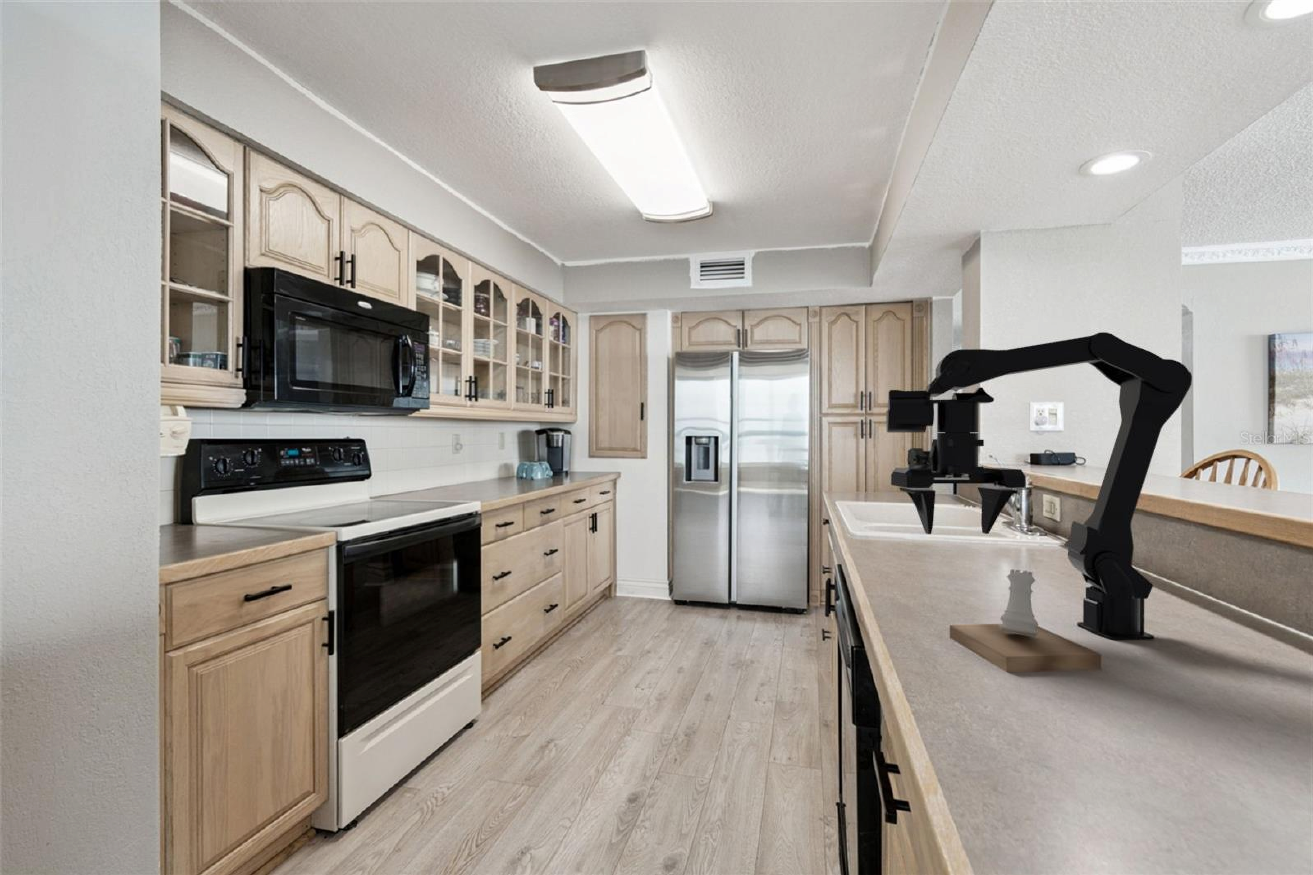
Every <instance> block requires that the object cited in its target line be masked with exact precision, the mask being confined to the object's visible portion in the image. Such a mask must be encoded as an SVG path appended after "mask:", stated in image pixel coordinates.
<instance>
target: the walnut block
mask: <svg viewBox="0 0 1313 875" xmlns="http://www.w3.org/2000/svg"><path fill="white" fill-rule="evenodd" d="M1001 624H1002V623H988V624H987V623H981V624H979V623H978V624H949V638H950V639H951V640H953V641H954V642H956V643H957V644H959V645H961V646H962V647H964V648H965V649H967V650H969V651H970V652H972V653H974V654H976V655H978V656H979V657H981V658H982V659H984V660H986V661H988V662H989V663H990V664H992V665H994V666H996V667H997V668H999V669H1000V670H1003V671H1004V672H1006V673H1019V672H1020V673H1021V672H1024V673H1025V672H1057V671H1058V672H1059V671H1061V672H1062V671H1092V670H1093V671H1096V670H1097V671H1098V670H1099V671H1101V670H1102V654H1101V653H1100V652H1097V651H1095V650H1093V649H1090V648H1088V647H1086V646H1083V645H1082V644H1079V643H1077V642H1075V641H1072V640H1070V639H1068V638H1066V637H1064V636H1061V635H1059V634H1058V633H1054V632H1052V631H1049V630H1048V629H1045V628H1043V627H1041V626H1039V625H1038V626H1037V627H1036V628H1035V629H1036V630H1037V631H1038V632H1039V633H1038V634H1037V635H1036V636H1032V635H1027V634H1021V633H1016V632H1010V631H1005V630H1002V629H1001V628H1000V626H999V625H1001Z"/></svg>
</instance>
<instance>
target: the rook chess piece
mask: <svg viewBox="0 0 1313 875" xmlns="http://www.w3.org/2000/svg"><path fill="white" fill-rule="evenodd" d="M1006 578H1007V579H1008V580H1009V582H1010V586H1008V590H1009V598H1008V602H1007V606H1006V608H1005V610H1004V613H1003V614H1002V615H1001V616H1000V618H999V619H1000V621H1001V622H1002V623H1000V624H1001V625H999V626H1000V628H1001V629H1002V630H1005V631H1010V632H1016V633H1021V634H1027V635H1032V636H1036V635H1037V634H1038V633H1039V632H1038V631H1037V630H1036V629H1035V628H1036V627H1037V626H1039V622H1038V621H1037V620H1036V619H1035V615H1034V612H1033V608H1032V600H1031V599H1032V593H1033V590H1032V586H1033V584H1034V583H1035V582H1036V579H1035V578H1034V577H1033V572H1032V571H1028V570H1023V572H1021V570H1020V569H1013V568H1012V569H1010V573H1009V574H1008V575H1006Z"/></svg>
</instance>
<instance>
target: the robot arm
mask: <svg viewBox="0 0 1313 875" xmlns="http://www.w3.org/2000/svg"><path fill="white" fill-rule="evenodd" d="M1086 363H1087V364H1089V365H1091V366H1092V367H1094V368H1095V369H1096V370H1097V371H1098V372H1100V374H1102V375H1103V376H1104V377H1106V379H1107V380H1109V381H1111V382H1112V383H1114V384H1116V385H1117V386H1119V396H1118V397H1119V399H1118V404H1119V411H1120V418H1121V422H1120V424H1119V425H1120V427H1119V429H1118V433H1117V434H1116V435H1117V436H1116V438H1115V440H1114V445H1113V448H1112V450H1111V451H1112V452H1111V454H1110V458H1109V459H1108V460H1109V461H1108V463H1107V467H1106V469H1105V473H1104V476H1103V479H1102V484H1101V486H1100V489H1099V492H1098V496H1097V499H1096V501H1095V505H1094V508H1093V511H1092V512H1091V515H1090V516H1089V517H1088V518H1087V519H1086V521H1084V523H1081V522H1079V521H1076V520H1074V521H1072V523H1071V527H1070V535H1069V538H1068V540H1067V541H1066V542H1065V543H1064V544H1063V545H1064V547H1065V548H1068V549H1067V559H1068V561H1069V562H1070V564H1071V565H1072V567H1074V568H1075V569H1076V570H1077V571H1079V572H1080V573H1081V576H1082V578H1083V580H1084V582H1085V583H1087V584H1090V586H1088V587H1087V586H1086V587H1085V597H1084V598H1083V600H1082V601H1083V604H1082V609H1083V610H1082V611H1083V612H1082V613H1083V615H1082V618H1083V619H1082V621H1077V622H1076V626H1077V627H1080V628H1082V629H1084V630H1086V631H1089V632H1091V633H1094V634H1096V635H1098V636H1101V637H1104V638H1105V639H1108V640H1111V641H1124V640H1125V641H1126V640H1127V641H1133V640H1154V639H1155V634H1151V633H1148V632H1145V600H1147V599H1148V598H1149V597H1150V594H1151V592H1152V590H1153V588H1154V585H1153V583H1152V582H1150V581H1149V580H1148V579H1147V578H1146V577H1144V575H1143V574H1142V573H1140V572H1139V571H1138V570H1137V569H1136V568H1134V567H1133V560H1134V559H1133V558H1134V550H1135V549H1134V548H1135V545H1134V538H1133V532H1132V520H1133V519H1134V514H1135V511H1136V508H1137V505H1138V502H1139V500H1140V496H1141V493H1142V490H1143V487H1144V483H1145V480H1146V477H1147V474H1148V471H1149V468H1150V466H1151V462H1152V458H1153V456H1154V454H1155V453H1154V452H1155V450H1156V447H1157V443H1158V441H1159V437H1160V434H1161V432H1162V428H1163V427H1164V425H1165V424H1166V423H1167V422H1168V420H1169V419H1170V418H1171V417H1172V416H1173V414H1175V412H1176V411H1178V409H1179V408H1180V406H1181V404H1182V403H1183V400H1184V399H1185V397H1186V396H1187V394H1188V392H1189V390H1190V388H1191V386H1192V384H1193V383H1192V381H1193V375H1192V372H1190V371H1189V369H1188V368H1187V367H1186V365H1184V364H1183V363H1182V362H1180V361H1177V360H1175V359H1171V358H1170V359H1169V358H1167V359H1166V358H1162V357H1160V356H1159V355H1157V354H1156V353H1154V352H1152V351H1150V350H1147V349H1144V348H1142V347H1139V346H1136V345H1135V344H1132V343H1129V342H1126V341H1125V340H1122V339H1121V338H1119V337H1118V336H1116V335H1115V334H1112V333H1110V332H1106V331H1103V332H1097V333H1095V334H1092V335H1087V336H1082V337H1075V338H1071V339H1063V340H1059V341H1057V340H1056V341H1052V342H1045V343H1039V344H1033V345H1027V346H1021V347H1014V348H1011V349H987V348H986V349H984V348H981V349H979V348H977V349H976V348H975V349H974V348H973V349H972V348H971V349H969V348H968V349H967V348H966V349H962V348H961V349H956V350H952V351H951V352H949V353H948V354H946V355H945V356H944V357H942V358H941V360H940V361H939V362H938V364H937V365H936V368H935V377H934V379H933V380H932V381H931V383H929V384H927V385H926V386H925V390H900V389H890V390H889V391H888V392H887V393H888V399H887V409H886V411H885V412H886V413H885V414H886V415H885V417H886V418H885V420H886V421H885V422H886V423H885V425H886V433H887V434H888V433H891V434H892V433H900V434H901V433H902V434H903V433H906V434H907V433H908V434H909V433H912V434H913V433H914V434H915V433H916V434H917V433H918V434H919V433H920V434H923V433H924V434H925V433H926V430H927V427H933V426H934V424H935V423H934V422H935V406H934V405H936V406H937V407H936V409H937V410H936V411H937V413H936V414H937V416H936V418H937V420H936V425H937V426H936V432H937V433H936V438H935V439H934V438H932V442H931V449H930V450H924V449H923V448H922V447H921V448H920V447H919V448H918V447H917V448H916V447H911V448H909V449H908V450H907V458H906V459H907V461H906V462H907V467H895V468H894V469H893V470H892V473H891V474H890V482H891V484H890V485H891V486H893V487H894V486H895V487H898V488H899V491H901V492H905V493H907V494H906V495H908V497H910V499H911V500H912V503H913V505H914V506H915V509H916V511H917V514H918V516H919V520H920V522H921V525H922V528H923V530H924V533H925V534H927V535H931V534H932V531H933V528H934V518H935V514H934V513H935V504H936V490H934V489H930V487H931V486H933V485H935V484H940V485H943V484H945V485H946V484H947V485H948V484H950V485H951V484H959V485H961V484H970V485H971V484H982V485H983V486H977V490H978V492H979V495H980V498H981V517H980V518H981V519H980V522H981V523H980V524H981V525H980V526H981V532H982V533H983V534H985V535H988V534H990V532H991V530H992V529H993V526H994V524H996V523H995V522H996V521H997V519H998V517H999V515H1000V514H1001V512H1002V510H1003V509H1004V508H1005V506H1006V505H1007V503H1008V502H1009V500H1010V499H1011V497H1012V496H1013V495H1014V494H1015V495H1017V494H1018V493H1019V490H1018V489H1026V488H1027V476H1026V475H1025V473H1024V471H1023V470H1022V469H1020V468H1010V467H1009V468H1008V467H984V466H980V465H979V447H984V446H985V445H984V443H985V440H984V439H979V429H980V428H979V422H980V420H979V418H980V417H979V413H980V412H979V411H980V410H979V409H980V408H979V406H980V405H979V404H990V403H993V402H994V401H995V398H994V397H993V396H992V395H990V394H988V392H986V390H985V389H984V388H983V387H981V386H980V387H978V388H976V390H975V391H974V392H954V393H952V396H951V399H931V398H937V397H939V396H941V395H944V394H945V393H947V392H949V391H959V390H963V389H966V388H970V387H972V386H976V385H980V384H982V383H984V382H988V381H991V380H994V379H998V378H1001V377H1003V376H1009V375H1014V374H1015V375H1016V374H1022V373H1028V372H1034V371H1041V370H1047V369H1048V370H1049V369H1055V368H1061V367H1066V366H1074V365H1080V364H1086ZM963 474H964V475H963ZM967 475H968V476H967Z"/></svg>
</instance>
